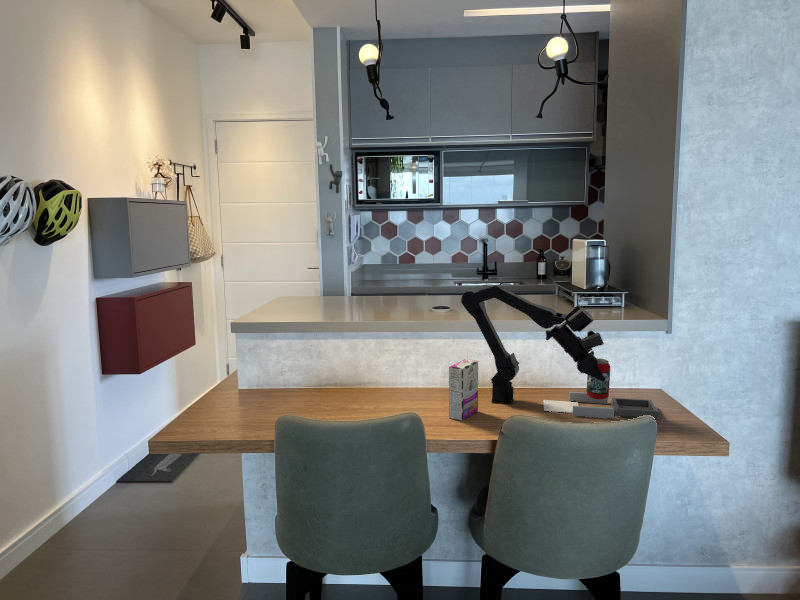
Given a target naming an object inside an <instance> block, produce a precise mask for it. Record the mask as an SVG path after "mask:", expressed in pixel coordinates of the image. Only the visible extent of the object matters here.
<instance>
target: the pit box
mask: <svg viewBox="0 0 800 600" xmlns="http://www.w3.org/2000/svg"><path fill="white" fill-rule="evenodd" d="M610 405H611V408H614V416H615V417H616V416H620V417H619V418H626V417H628V418H630V419H634V418H633V417H639V416H643V415H651V416H653V417H654V418H655V419H654V420H659V410H658V409H657V407H656V406H655V404H654V402H653V401H652V399H643V398H626V397H625V398H624V397H611V403H610Z"/></svg>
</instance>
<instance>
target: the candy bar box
mask: <svg viewBox="0 0 800 600" xmlns="http://www.w3.org/2000/svg"><path fill="white" fill-rule="evenodd" d="M448 393H449V394H448V400H449V401H448V414H449V415H448V417H449V419H451V420H455V421H459V422H460V421H462V422H463V421H465V420H467V419H468V418H469V417H471V416H473V415H474V414H475V413H476V412H478V411H479V360H475V359H468V358H466V359H465V358H464V359H463V360H461V361H458V362H457V363H454V364H452V365H450V366H448Z"/></svg>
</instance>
